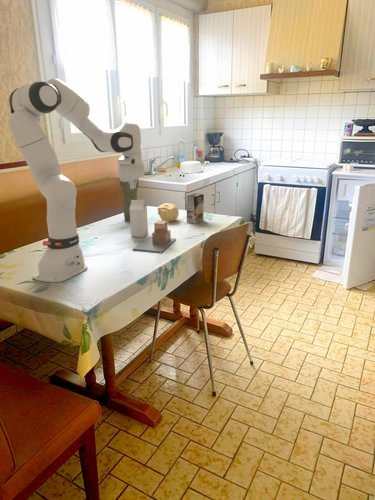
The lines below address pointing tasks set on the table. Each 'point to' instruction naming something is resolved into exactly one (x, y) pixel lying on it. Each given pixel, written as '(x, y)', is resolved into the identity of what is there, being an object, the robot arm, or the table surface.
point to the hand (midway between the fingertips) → (133, 188)
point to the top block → (160, 226)
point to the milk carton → (138, 218)
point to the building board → (155, 243)
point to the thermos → (128, 197)
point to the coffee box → (195, 208)
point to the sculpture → (168, 212)
